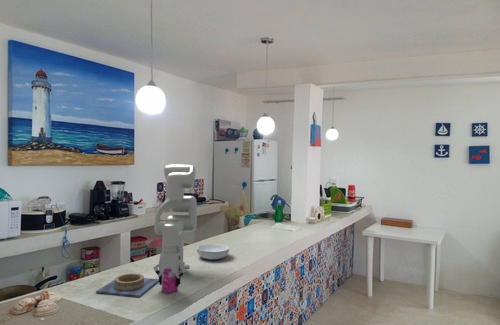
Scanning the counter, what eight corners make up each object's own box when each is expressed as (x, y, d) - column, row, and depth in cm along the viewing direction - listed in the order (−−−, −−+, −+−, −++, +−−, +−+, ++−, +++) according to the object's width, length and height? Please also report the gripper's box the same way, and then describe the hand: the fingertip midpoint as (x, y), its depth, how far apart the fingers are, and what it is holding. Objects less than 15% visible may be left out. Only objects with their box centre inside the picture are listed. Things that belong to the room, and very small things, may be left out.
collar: (159, 281, 191) (159, 272, 191) (139, 297, 169) (139, 287, 169) (120, 277, 195) (120, 269, 195) (96, 293, 173) (96, 283, 173)
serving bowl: (224, 264, 223) (224, 252, 223) (191, 261, 228) (191, 250, 227) (232, 254, 244) (233, 244, 244) (202, 252, 248) (202, 242, 248)
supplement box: (160, 290, 178) (161, 267, 178) (171, 287, 183) (171, 264, 182) (167, 294, 174) (167, 270, 174) (178, 291, 179) (178, 267, 178)
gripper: (190, 248, 180) (189, 283, 181) (156, 245, 183) (156, 280, 184) (184, 252, 173) (183, 289, 173) (149, 249, 176) (149, 286, 176)
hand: (169, 284), depth 178 cm, fingers closed on supplement box, 7 cm apart
